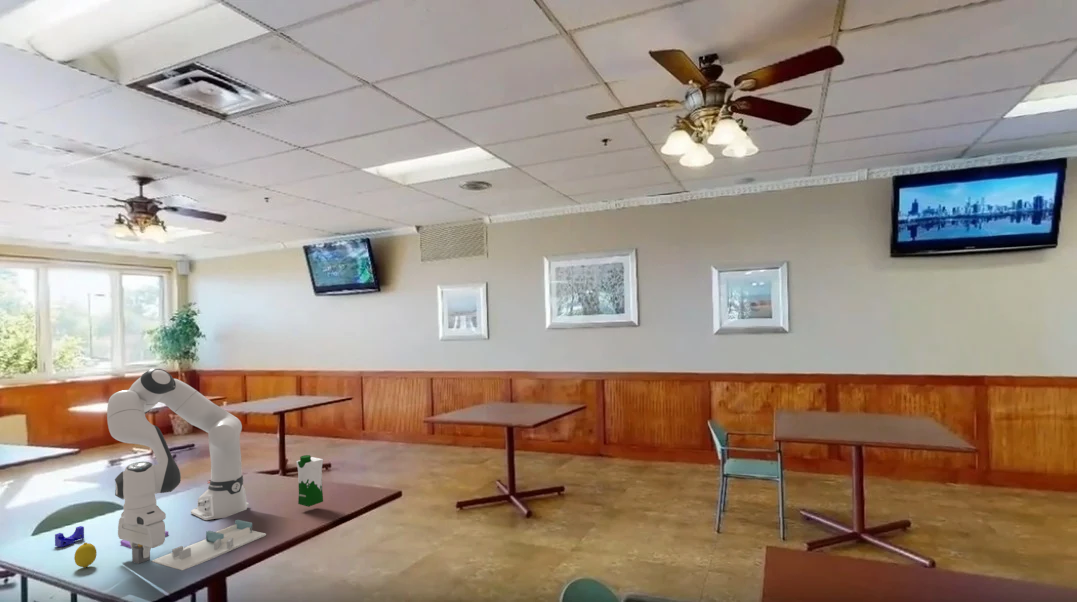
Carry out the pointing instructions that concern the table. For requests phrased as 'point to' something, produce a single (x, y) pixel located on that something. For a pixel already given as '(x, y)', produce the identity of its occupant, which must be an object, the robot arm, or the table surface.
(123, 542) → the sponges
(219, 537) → the end holder
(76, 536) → the cable holder
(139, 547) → the block
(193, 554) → the board
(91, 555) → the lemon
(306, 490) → the milk carton
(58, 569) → the table surface
